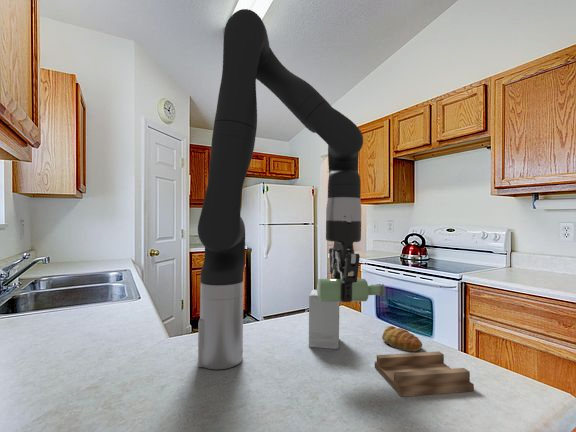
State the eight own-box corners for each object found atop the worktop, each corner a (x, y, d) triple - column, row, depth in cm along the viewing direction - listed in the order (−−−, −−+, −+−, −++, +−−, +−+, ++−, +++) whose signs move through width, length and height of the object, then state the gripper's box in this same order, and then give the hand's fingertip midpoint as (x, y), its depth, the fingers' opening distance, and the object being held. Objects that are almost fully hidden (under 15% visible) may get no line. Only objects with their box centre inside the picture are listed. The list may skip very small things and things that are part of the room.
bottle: (322, 304, 64) (322, 281, 64) (316, 298, 68) (317, 276, 68) (387, 303, 66) (387, 281, 66) (377, 298, 70) (378, 276, 70)
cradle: (400, 396, 54) (400, 379, 54) (374, 367, 65) (374, 353, 65) (473, 391, 56) (473, 374, 56) (436, 363, 67) (436, 349, 67)
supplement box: (338, 349, 74) (338, 296, 74) (307, 347, 75) (308, 295, 76) (339, 338, 81) (339, 290, 81) (311, 336, 82) (311, 288, 83)
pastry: (428, 349, 75) (428, 333, 75) (411, 356, 71) (411, 339, 71) (395, 337, 82) (395, 322, 83) (378, 343, 79) (378, 328, 79)
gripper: (318, 219, 74) (317, 291, 73) (336, 218, 59) (334, 307, 59) (349, 220, 75) (348, 290, 74) (373, 219, 60) (372, 307, 60)
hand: (342, 298), depth 67 cm, fingers closed on bottle, 4 cm apart
